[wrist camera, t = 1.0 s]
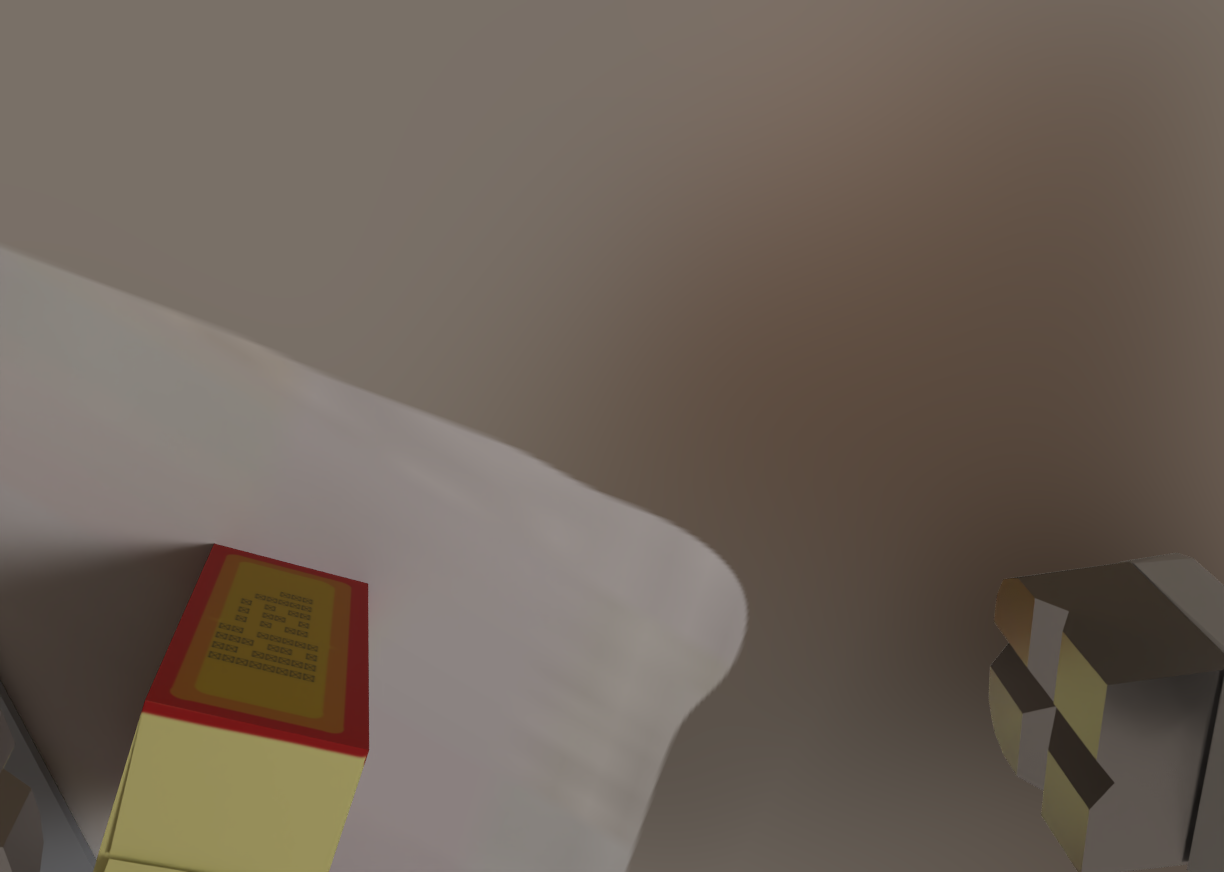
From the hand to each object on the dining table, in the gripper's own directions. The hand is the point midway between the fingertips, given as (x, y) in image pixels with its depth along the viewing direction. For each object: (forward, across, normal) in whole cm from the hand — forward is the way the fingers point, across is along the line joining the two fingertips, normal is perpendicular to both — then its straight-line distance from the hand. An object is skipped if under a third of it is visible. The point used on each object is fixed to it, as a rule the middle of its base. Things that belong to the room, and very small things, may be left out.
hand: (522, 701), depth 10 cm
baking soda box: (+35, -12, -23) cm, 43 cm away
